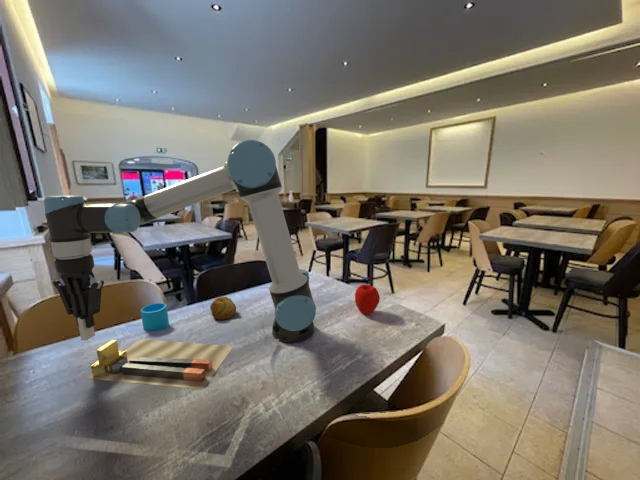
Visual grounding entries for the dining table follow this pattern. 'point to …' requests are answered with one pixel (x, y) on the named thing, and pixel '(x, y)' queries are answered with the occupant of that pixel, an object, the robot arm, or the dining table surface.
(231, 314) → the bread roll
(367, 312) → the apple
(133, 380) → the board
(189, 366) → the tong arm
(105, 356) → the yellow stepped block
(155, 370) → the tong fixed
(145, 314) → the mug
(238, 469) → the dining table surface
